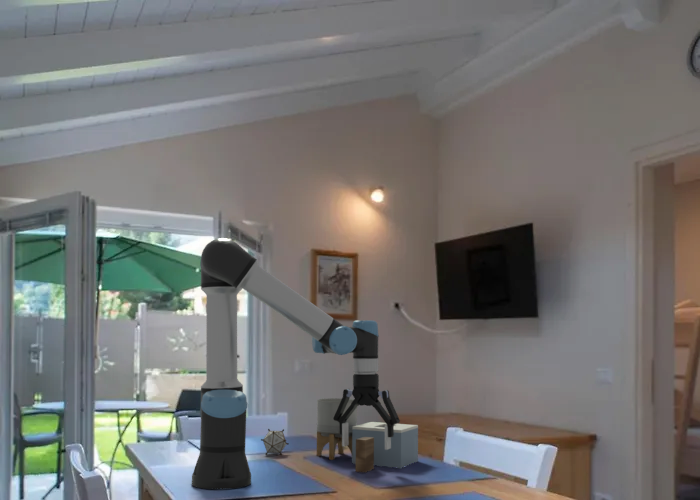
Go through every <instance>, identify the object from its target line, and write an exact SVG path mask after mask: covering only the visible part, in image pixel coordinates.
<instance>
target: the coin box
mask: <svg viewBox="0 0 700 500" xmlns="http://www.w3.org/2000/svg"><path fill="white" fill-rule="evenodd" d="M386 425H387V424H386V423H385V422H379V421H377V422H376V421H370V422H369V421H368V422H365V423H361V424H357V425H356V426H353V429H352V455H351V464H352V463H353V464H354V465H356V439H359V438H362V437H373V438H374V465H377V466H376V467H382V466H388V467H387V468H392V467H397V468H396V469H403V468H405V467H404V466H406V467H407V465H408V466H410V465H412V464H411V463H413V464H414V462H415V463H418V461H419V425H418V424H405V423H397V424H395V425H394V435H393V437H391V448H390V449H388V450H385V426H386ZM409 464H410V465H409ZM402 467H403V468H402Z"/></svg>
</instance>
